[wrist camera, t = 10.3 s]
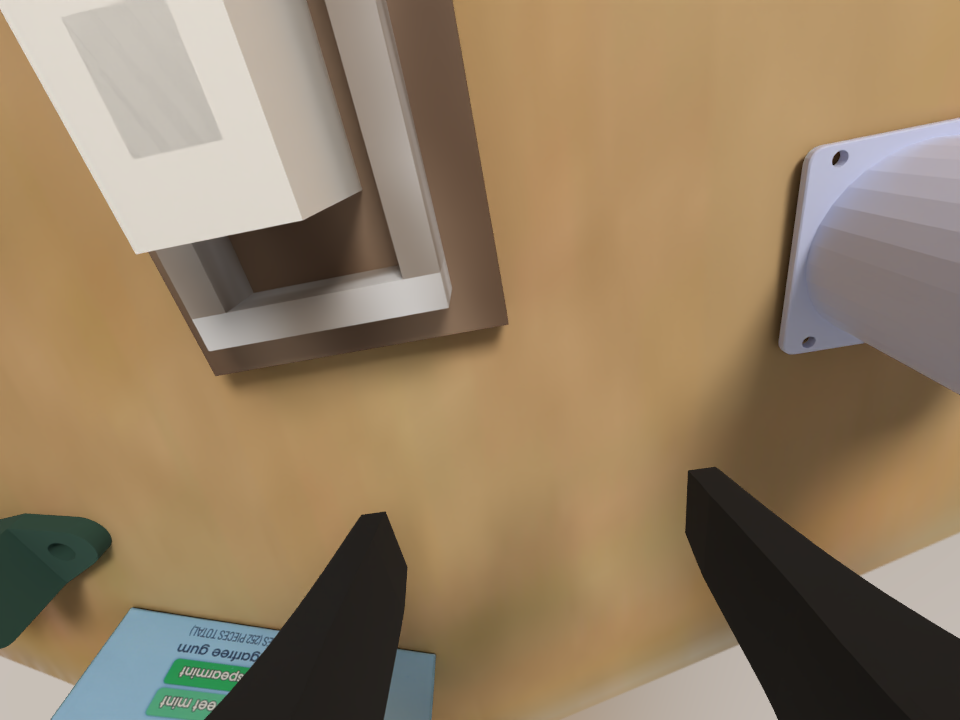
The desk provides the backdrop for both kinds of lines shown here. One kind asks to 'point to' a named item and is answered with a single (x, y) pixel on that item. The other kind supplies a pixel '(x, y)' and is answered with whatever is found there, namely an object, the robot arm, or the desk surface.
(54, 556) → the mount
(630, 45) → the desk surface
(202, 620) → the gum box
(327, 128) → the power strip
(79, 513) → the desk surface
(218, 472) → the desk surface
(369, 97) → the cradle
